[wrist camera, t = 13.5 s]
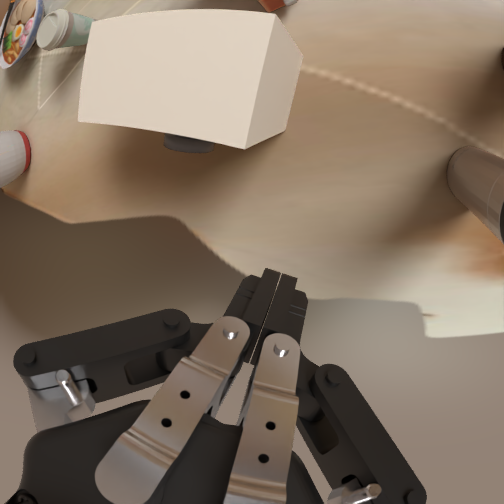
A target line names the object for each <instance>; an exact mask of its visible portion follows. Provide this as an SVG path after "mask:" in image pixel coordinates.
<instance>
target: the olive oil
mask: <svg viewBox="0 0 504 504" xmlns="http://www.w3.org/2000/svg"><path fill="white" fill-rule="evenodd" d="M502 65H503V69H504V49H503V51H502Z"/></svg>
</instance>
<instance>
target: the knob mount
mask: <svg viewBox="0 0 504 504" xmlns="http://www.w3.org/2000/svg"><path fill="white" fill-rule="evenodd" d="M302 60H303V55H302V53H301V51H300V50H299V48H298V47H297V45H296V43H295V42H294V40H293V39H292V37H291V36H290V34H289V33H288V31H287V30H286V28H285V27H284V25H283V24H282V22H281V21H280V19H279V18H278V16H277V15H276V14H272V13H264V12H254V11H243V10H225V9H184V10H167V11H155V12H146V13H138V14H131V15H124V16H118V17H113V18H108V19H103V20H98V21H94V22H92V24H91V29H90V33H89V38H88V43H87V48H86V54H85V60H84V66H83V73H82V81H81V89H80V99H79V111H78V122H89V123H99V124H109V125H117V126H125V127H132V128H139V129H146V130H152V131H158V132H164V133H170V134H175V135H181V136H186V137H191V138H196V139H201V140H206V141H210V142H215V143H219V144H224V145H228V146H232V147H237V148H241V149H247V148H249V147H251V146H253V145H255V144H257V143H259V142H261V141H264V140H266V139H268V138H270V137H272V136H274V135H277V134H279V133H281V132H283V131H285V129H286V125H287V121H288V117H289V113H290V109H291V105H292V101H293V97H294V93H295V88H296V84H297V80H298V76H299V72H300V68H301V64H302Z"/></svg>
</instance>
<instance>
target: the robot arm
mask: <svg viewBox="0 0 504 504" xmlns="http://www.w3.org/2000/svg"><path fill="white" fill-rule="evenodd" d="M447 180H448V185H449V188H450V190H451V191H452V193H453V194H454V196H455V197H456V198H457V199H458V200H459V201H461V202H462V203H463V204H464V205H465V206H466V207H467V208H468V209H469V210H470V211H471V212H472V213H473V214H474V215H475V216H477V217H478V218H479V219H480V220H481V221H482V222H483V223H484V224H485V225H486V226H487V227H488V228H489V229H490V230H491V232H492V233H493V234H494V235H495V236H496V237H497V238H498V239H499V240H500V241H501V242H502V243H503V244H504V159H503V158H501V157H498V156H496V155H494V154H491V153H489V152H487V151H484V150H482V149H479V148H476V147H472V146H466V147H463V148H461V149H459V150H458V151H456V153H455V154H454V155H453V156H452V158H451V159H450V162H449V164H448V169H447ZM280 274H281V273H280V272H277V271H274V270H271V269H268V268H265V270H264V272H263V275H262V277H261V278H260V277H257V276H254V275H249V276H248V277H246V278H245V279H243V281H242V282H241V284H240V286H239V289H238V290H237V292H236V294H235V295H234V297H233V299H232V301H231V303H230V305H229V306H228V308H227V310H226V312H225V314H224V316H223V317H221V318H219V319H217V320H216V321H215V322H214V323H211V324H199V323H191V322H190V319H189V317H188V316H187V315H186V314H185V313H184V312H182V311H180V310H176V309H165V310H161V311H157V312H154V313H150V314H146V315H143V316H139V317H135V318H131V319H127V320H124V321H120V322H116V323H112V324H108V325H104V326H100V327H96V328H92V329H88V330H84V331H80V332H76V333H72V334H68V335H63V336H59V337H55V338H51V339H46V340H42V341H37V342H33V343H29V344H25V345H23V346H21V347H20V348H19V349H18V350H17V351H16V353H15V355H14V361H13V362H14V367H15V369H16V371H17V372H18V374H19V375H20V377H21V378H22V379H23V382H24V383H25V385H26V386H27V388H28V393H29V398H30V403H31V408H32V413H33V417H34V421H35V425H36V429H37V434H35V435H34V436H33V437H32V438H31V439H30V440H29V442H28V444H27V446H26V449H25V452H24V462H23V474H22V479H21V483H20V486H19V488H18V490H17V492H16V493H15V494H14V495H13V496H12V497H11V498H10V499H9V500H8V501H7V502H6V503H4V504H324V502H323V500H322V499H321V497H320V495H319V493H318V491H317V489H316V487H315V485H314V483H313V481H312V479H311V477H310V475H309V473H308V471H307V469H306V467H305V465H304V463H303V462H302V460H301V459H300V458H299V456H298V455H297V454H296V453H295V452H294V451H292V447H293V440H294V433H295V426H297V428H298V430H299V431H300V433H301V435H302V437H303V439H304V441H305V442H306V444H307V446H308V448H309V449H310V451H311V453H312V455H313V457H314V459H315V460H316V462H317V464H318V466H319V467H320V469H321V471H322V473H323V474H324V476H325V477H326V479H327V481H328V483H329V485H330V486H331V488H332V491H331V493H330V495H329V497H328V500H327V504H426V499H427V495H426V491H425V489H424V487H423V486H422V484H421V482H420V481H419V480H418V478H417V477H416V475H415V474H414V472H413V470H412V469H411V467H410V466H409V465H408V463H407V461H406V460H405V458H404V457H403V455H402V454H401V452H400V451H399V449H398V448H397V446H396V445H395V443H394V442H393V440H392V439H391V437H390V436H389V434H388V433H387V431H386V430H385V428H384V427H383V425H382V424H381V423H380V421H379V419H378V418H377V416H376V415H375V414H374V412H373V411H372V409H371V407H370V406H369V405H368V403H367V402H366V400H365V399H364V397H363V396H362V394H361V393H360V391H359V390H358V388H357V387H356V385H355V384H354V382H353V381H352V380H351V378H350V377H349V375H348V374H347V372H346V371H344V369H342V368H341V367H339V366H337V365H334V364H324V365H322V366H320V367H319V366H317V365H316V364H314V363H313V362H311V361H309V360H308V359H307V358H306V357H305V356H304V355H303V353H302V351H301V349H300V338H301V334H302V329H303V324H304V319H305V314H306V309H307V304H308V300H307V297H306V294H305V292H302V291H299V290H296V289H295V286H296V282H297V278H295V277H292V276H289V275H286V274H283V273H282V276H281V278H280V281H279V284H278V287H277V290H276V293H275V296H274V299H273V301H272V298H273V295H274V292H275V289H276V286H277V283H278V280H279V277H280ZM271 301H272V304H271ZM270 304H271V307H270ZM269 307H270V309H269ZM268 310H269V312H268ZM267 312H268V315H267ZM266 315H267V318H266ZM265 318H266V320H265ZM264 321H265V323H264ZM263 323H264V326H263ZM262 326H263V329H262ZM261 329H262V332H261V334H260V331H261ZM259 334H260V337H259ZM258 337H259V340H258V343H257V346H256V349H255V351H254V354H253V357H252V360H251V362H250V363H251V364H252V365H254V368H253V371H252V374H251V376H250V379H249V382H248V385H247V389H246V393H245V396H244V400H243V404H242V407H241V411H240V414H239V418H238V421H237V424H236V425H227V424H223V423H221V422H219V421H218V420H216V419H215V417H216V414H217V412H218V410H219V408H220V406H221V404H222V403H223V401H224V399H225V397H226V395H227V393H228V391H229V389H230V388H231V386H232V384H233V382H234V380H235V378H236V376H237V374H238V373H239V371H240V369H241V367H242V364H243V362H246V363H249V361H250V358H251V355H252V353H253V350H254V347H255V345H256V342H257V339H258ZM163 382H164V384H163V385H162V386H161V387H160V389H159V390H158V391H157V393H156V394H155V395H154V397H153V398H152V400H141V401H137V402H133V403H130V404H128V405H125V406H122V407H119V408H116V409H113V410H110V411H107V412H104V413H101V414H98V415H95V416H92V417H89V418H86V417H88V416H90V415H91V414H92V412H93V411H94V409H95V404H96V403H99V402H103V401H106V400H109V399H113V398H116V397H119V396H123V395H126V394H129V393H132V392H136V391H139V390H142V389H145V388H148V387H151V386H154V385H157V384H160V383H163ZM84 418H85V419H84Z"/></svg>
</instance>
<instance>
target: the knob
mask: <svg viewBox="0 0 504 504" xmlns="http://www.w3.org/2000/svg"><path fill="white" fill-rule="evenodd" d="M214 143H215V142H210V141H206V140H201V139H196V138H191V137H186V136H181V135H175V134H170V133H165V137H164V146H165V147H166V148H168V149H171V150H175V151H181V152H189V153H206V152H211V151H213V149H214Z"/></svg>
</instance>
